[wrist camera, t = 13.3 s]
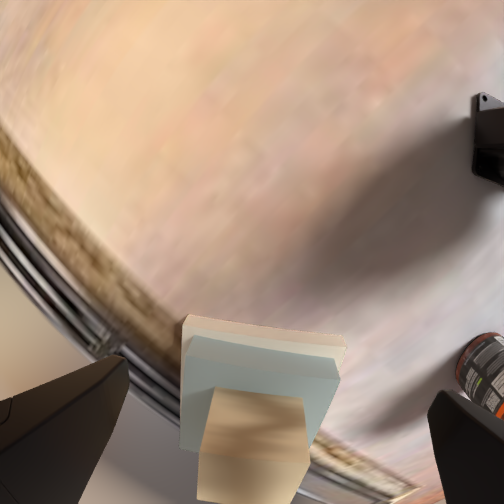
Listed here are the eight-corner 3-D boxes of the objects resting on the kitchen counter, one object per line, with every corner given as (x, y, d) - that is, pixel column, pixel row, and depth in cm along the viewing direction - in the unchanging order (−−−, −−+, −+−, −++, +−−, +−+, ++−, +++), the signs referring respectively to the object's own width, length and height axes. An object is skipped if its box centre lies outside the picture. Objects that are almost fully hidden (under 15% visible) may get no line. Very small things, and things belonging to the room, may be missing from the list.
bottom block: (339, 329, 22) (347, 347, 20) (306, 429, 25) (308, 449, 23) (191, 308, 22) (182, 324, 20) (186, 414, 25) (180, 432, 23)
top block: (333, 358, 20) (340, 380, 18) (298, 445, 22) (299, 466, 20) (194, 334, 20) (185, 355, 18) (185, 427, 22) (178, 448, 20)
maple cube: (302, 397, 18) (310, 463, 13) (284, 449, 19) (286, 509, 14) (215, 386, 18) (199, 451, 13) (209, 440, 19) (196, 499, 14)
